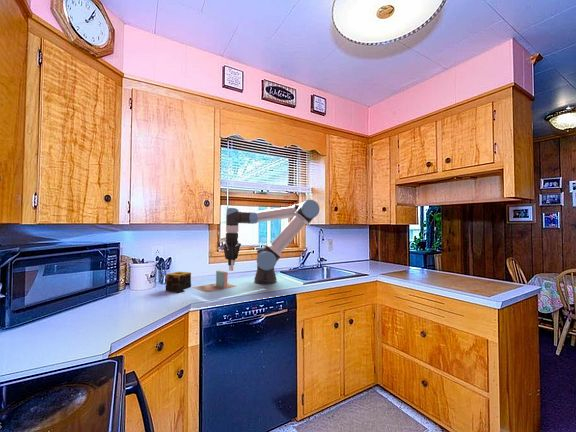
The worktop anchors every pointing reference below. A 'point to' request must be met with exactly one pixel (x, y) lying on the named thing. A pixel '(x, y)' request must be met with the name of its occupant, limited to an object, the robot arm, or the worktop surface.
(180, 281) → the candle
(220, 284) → the tile
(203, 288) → the board
